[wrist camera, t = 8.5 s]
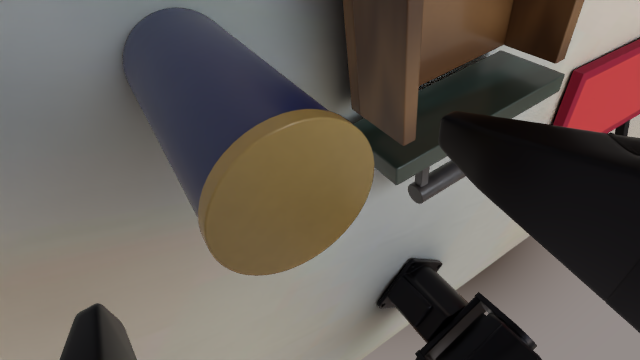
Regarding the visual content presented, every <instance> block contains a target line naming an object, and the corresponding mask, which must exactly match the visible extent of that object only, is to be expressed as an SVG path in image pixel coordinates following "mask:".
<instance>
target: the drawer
mask: <svg viewBox="0 0 640 360" xmlns="http://www.w3.org/2000/svg"><path fill="white" fill-rule="evenodd" d="M583 2H584V0H343V9H344V21H345V33H346V45H347V56H348V68H349V80H350V92H351V104H352V109H353V110H354V111H355V112H357V113H358V114H359V115H361V116H362V117H364V118H363V119H361V120H359V121H357V122H355V123H353V125H355V126H356V127H357V128H358V129H359V130H360V131H361V132H362V133H363V134H364V135H365V137H366V138H367V140H368V142H369V144H370V146H371V148H372V152H373V156H374V167H375V168H376V169H377V170H378V171H379V172H381V173H382V174H383V175H384V176H385V177H387V178H388V179H389V180H390V181H391V182H393V183H394V184H395V185H398V184H400V183H402V182H403V181H405V180H407V179H409V178H410V177H412V176H414V175H415V182H413V183H412V184H410V185H409V186H408V192H409V195H410V197H411V198H412V199H413V200H414V201H415V202H416V203H418V204H421V203H423V202H424V201H426V200H428V199H429V198H431V197H433V196H434V195H436V194H437V193H439V192H441V191H442V190H444V189H446V188H447V187H449V186H450V185H452V184H454V183H455V182H457V181H459V180H460V179H462V178H463V177H465V176H466V175H465V174H464V173H463V172H462V171H461V170H460V169H459V168H458V167H457V166H456V164H455V163H454V162H453V161H452V160H451V161H449V162H447V163H446V164H444V165H442V166H441V167H439V168H437V169H435V170H434V171H432V172H430V173H429V167H430V166H431V165H433V164H434V163H436V162H438V161H440V160H441V159H443V158H445V157H446V156H447V155H446V154H445V152H444V151H443V150H442V149H441V148H440V146H439V142H438V138H439V129H440V121H441V119H442V117H443V116H445V115H447V114H449V113H451V112H453V111H462V112H468V113H475V114H481V115H488V116H495V117H501V118H508V119H512V118H513V117H515V116H517V115H519V114H520V113H522V112H524V111H525V110H527V109H529V108H531V107H532V106H534V105H536V104H538V103H539V102H541V101H543V100H544V99H546V98H548V97H550V96H551V95H553V94H555V93H556V92H558V91H559V90H560V87H561V84H562V81H563V78H564V75H565V74H563V73H560V72H557V71H555V70H552V69H549V68H547V67H544V66H541V65H539V64H536V63H533V62H531V61H528V60H525V59H523V58H520V57H517V56H515V55H512V54H509V53H507V52H504V51H499V52H497V53H495V54H493V55H491V56H489V57H487V58H485V59H483V60H481V61H479V62H477V63H475V64H473V65H470V66H468V67H466V68H464V69H462V70H460V71H458V72H456V73H454V74H452V75H450V76H448V77H446V78H444V79H442V80H440V81H438V82H436V83H434V84H432V85H430V86H428V87H426V88H424V89H422V90H420V91H418V89H419V86H420V85H422V84H424V83H426V82H428V81H430V80H432V79H434V78H437V77H439V76H441V75H443V74H445V73H447V72H449V71H451V70H453V69H455V68H457V67H459V66H461V65H463V64H465V63H467V62H469V61H471V60H473V59H475V58H477V57H479V56H481V55H483V54H486V53H488V52H490V51H492V50H494V49H496V48H498V47H500V46H502V45H506V46H508V47H511V48H514V49H517V50H519V51H522V52H525V53H528V54H530V55H533V56H536V57H539V58H542V59H544V60H547V61H550V62H553V63H558V62H559V61H561V60H563V59H564V58H565V55H566V52H567V49H568V46H569V44H570V41H571V38H572V35H573V32H574V29H575V26H576V23H577V20H578V17H579V14H580V11H581V8H582V5H583Z"/></svg>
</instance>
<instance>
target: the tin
mask: <svg viewBox="0 0 640 360" xmlns="http://www.w3.org/2000/svg"><path fill="white" fill-rule="evenodd" d="M123 68H124V73H125V76H126V79H127V81H128V83H129V85H130V87H131V89H132V91H133V93H134V95H135V97H136V99H137V101H138V103H139V105H140V107H141V109H142V110H143V112H144V114H145V116H146V118H147V120H148V122H149V124H150V126H151V128H152V130H153V132H154V134H155V136H156V138H157V140H158V142H159V143H160V145H161V147H162V149H163V151H164V153H165V155H166V157H167V159H168V161H169V163H170V165H171V167H172V169H173V171H174V173H175V174H176V176H177V178H178V180H179V182H180V184H181V186H182V188H183V190H184V192H185V194H186V196H187V198H188V200H189V202H190V204H191V206H192V207H193V209H194V211H195V213H196V215H197V217H198V223H199V227H200V232H201V234H202V236H203V239H204V241H205V243H206V245H207V247H208V249H209V251H210V252H211V254H212V255H213V257H214V258H215V259H216V260H217V261H218V262H219V263H220V264H221V265H223V266H224V267H226V268H228V269H229V270H232V271H234V272H237V273H240V274H245V275H255V276H258V275H269V274H275V273H279V272H283V271H286V270H289V269H292V268H294V267H297V266H299V265H301V264H303V263H305V262H307V261H309V260H310V259H312V258H314V257H315V256H317V255H318V254H320V253H321V252H323V251H324V250H325V249H327V248H328V247H329V246H330V245H332V244H333V243H334V242H335V241H336V240H337V239H338V238H339V237H340V236H341V235H342V234H343V233H344V232H345V231H346V230H347V229H348V227H349V226H350V225H351V224H352V223H353V221H354V220H355V218H356V217H357V216H358V214H359V212H360V211H361V209H362V207H363V205H364V203H365V201H366V199H367V197H368V194H369V192H370V189H371V185H372V182H373V176H374V156H373V152H372V148H371V146H370V144H369V142H368V140H367V138H366V137H365V135H364V134H363V133H362V132H361V131H360V130H359V129H358V128H357V127H356V126H355V125H353V124H352V123H351V122H349V121H348V120H347V119H345V118H343V117H342V116H340V115H338V114H336V113H333V112H330V111H328V110H327V109H326V108H324V107H323V106H322V105H320V104H319V103H318V102H317V101H315V100H314V99H313V98H311V97H310V96H309V95H308V94H306V93H305V92H304V91H302V90H301V89H300V88H299V87H297V86H296V85H295V84H293V83H292V82H291V81H290V80H288V79H287V78H286V77H284V76H283V75H282V74H281V73H279V72H278V71H277V70H275V69H274V68H273V67H272V66H270V65H269V64H268V63H266V62H265V61H264V60H263V59H261V58H260V57H259V56H257V55H256V54H255V53H254V52H252V51H251V50H250V49H248V48H247V47H246V46H245V45H243V44H242V43H241V42H239V41H238V40H237V39H236V38H234V37H233V36H232V35H231V34H229V33H228V32H227V31H225V30H224V29H223V28H222V27H220V26H219V25H218V24H216V23H215V22H214V21H213V20H211V19H210V18H208V17H207V16H205V15H203V14H201V13H199V12H197V11H194V10H190V9H185V8H168V9H163V10H159V11H157V12H154V13H152V14H150V15H148V16H147V17H145V18H144V19H143V20H141V21H140V22H139V23H138V24H137V25H136V26H135V27H134V28H133V30H132V31H131V33H130V34H129V36H128V38H127V40H126V43H125V47H124V52H123Z"/></svg>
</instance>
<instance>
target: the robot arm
mask: <svg viewBox="0 0 640 360" xmlns="http://www.w3.org/2000/svg"><path fill="white" fill-rule="evenodd" d="M438 142H439V146H440V148H441V149H442V150H443V151H444V152H445V154H446V155H447V156H448V157H449V158H450V159H451V160H452V161H453V162H454V163H455V164H456V166H457V167H458V168H459V169H460V170H461V171H462V172H463V173H464V174H465V175H466V176H467V178H468V179H469V180H470V181H471V182H472V183H473V184H474V185H475V186H476V187H477V188H478V189H479V190H480V191H481V192H482V193H483V194H485V195H486V196H487V197H488V198H489V199H490V200H491V201H492V202H494V203H495V204H496V205H497V206H498V207H499V208H500V209H501V210H503V211H504V212H505V213H506V214H507V215H508V216H509V217H510V218H512V219H513V220H514V221H515V222H516V223H517V224H518V225H519V226H521V227H522V228H523V229H524V230H525V231H526V232H527V233H528V234H530V235H531V236H532V237H533V238H534V239H535V240H536V241H538V242H539V243H540V244H541V245H542V246H543V247H544V248H545V249H547V250H548V251H549V252H550V253H551V254H552V255H553V256H554V257H556V258H557V259H558V260H559V261H560V262H561V263H563V265H564V266H566V267H567V268H568V269H569V270H570V271H571V272H572V273H573V274H575V275H576V276H577V277H578V278H579V279H580V280H581V281H582V282H584V283H585V284H586V285H587V286H588V287H589V288H590V289H591V290H593V291H594V292H595V293H596V294H597V295H598V296H599V297H601V298H602V299H603V300H604V301H605V302H606V303H607V304H608V305H609V306H610V307H611V308H613V309H614V310H615V311H616V312H617V313H618V314H619V315H620V316H621V317H623V318H624V319H625V320H626V321H627V322H628V323H629V324H631V325H632V326H633V327H634V328H635V329H636V330H637V331H638V332H639V333H640V138H635V137H628V136H621V135H615V134H606V133H601V132H594V131H588V130H581V129H574V128H568V127H561V126H554V125H548V124H541V123H534V122H528V121H521V120H515V119H508V118H501V117H495V116H488V115H481V114H475V113H468V112H462V111H453V112H451V113H449V114H447V115H445V116H443V117H442V119H441V121H440V129H439V138H438ZM441 265H442V263H441V262H440V261H438V260H425V259H411V260H410V261H409V262H408V263H407V264H406V266H405V267H404V268H403V270H402V271H401V272H400V274H399V275H398V276H397V278H396V279H395V280H394V282H393V283H392V284H391V286H390V287H389V288H388V290H387V291H386V292H385V294H384V295H383V296H382V298H381V299H380V300H379V302H378V303H377V305H378V307H379V308H391V307H396V308H397V309H398V310H399V311H400V313H401V314H402V315H403V316H404V317H405V318H406V319H407V321H408V322H409V323H410V324H411V325H412V326H413V327H414V329H415V330H416V331H417V332H418V333H419V335H420V336H421V337H422V338H423V339H424V340H425V341H426V343H427V344H426V345H425V346H424V347H423V348H422V349H421V350H418V351H417V352H416V353H415V354H416V356H417V358H416V360H542V359H541V358H540V357H539V355H538V354H536V353H535V352H534V351H533V350H534V349H535V348H536V347H537V345H536V344H535V342H534V341H532V339H531V338H530V337H529V336H528V335H527V334H526V333H525V332H524V331H522V329H521V328H519V327H518V326H517V325H516V324H515V323H514V322H513V321H512V320H511V319H509V318H508V317H507V316H506V315H505V314H504V313H502V312H501V311H500V310H499V309H498V308H497V307H495V306H494V305H493V304H492V303H491V302H490V301H489V300H487V299H486V298H485V297H484V296H483V295H482V294H480V293H479V292H478V293H477V294H476V295H475V298H473V299H472V300H471V301H470V302H469V303H468V302H467V301H466V300H465V299H464V298H463V297H462V296H461V295H460V294H459V293H458V292H457V291H456V290H454V289H453V288H452V287H451V286H450V285H449V284H448V283H447V282H446V281H445V280H444V279H443V278H442V277H441V276H440V275H439V274H438V273H437V271H438V269H439V268H440V267H441ZM486 311H487V312H488V313H489V314H488V315H487V316H486V315H485V314H484V313H485V312H486ZM60 360H137V359H136V356H135V354H134V351H133V348H132V346H131V343H130V340H129V338H128V335H127V333H126V330H125V328H124V326H123V324H122V323H121V322H120V320H119V319H118V318H116V317H115V316H114V315H113V314H112V313H111V312H110V311H109V310H108V309H106V308H105V307H104V306H103V305H102V304H99V303H97V304H94V305H92V306H90V307H88V308H87V309H85V310H83V311H81V312H79V313H78V314H77V315H76V317H75V319H74V321H73V324H72V327H71V329H70V332H69V335H68V338H67V341H66V343H65V346H64V349H63V352H62V354H61V357H60Z"/></svg>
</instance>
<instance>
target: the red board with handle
mask: <svg viewBox="0 0 640 360" xmlns="http://www.w3.org/2000/svg"><path fill="white" fill-rule="evenodd" d="M639 114H640V39H638V40H636V41H634V42H632V43H630V44H628V45H626V46H624V47H622V48H620V49H617V50H615V51H613V52H611V53H609V54H607V55H605V56H603V57H601V58H599V59H596V60H594V61H592V62H590V63H588V64H586V65H584V66H582V67H580V68H578V69H576V70H573V73H572V76H571V78H570V81H569V84H568V86H567V89H566V92H565V94H564V97H563V100H562V102H561V105H560V107H559V110H558V113H557V115H556V118H555V121H554V123H553V125H554V126H561V127H568V128H574V129H581V130H588V131H594V132H601V133H606V134H607V133H609V132H610V131H612V130H614V129H615V128H616V130H615V135H621V136H627V134H628V128H629V122H630V120H631V119H632V118H634V117H636V116H637V115H639ZM609 134H613V133H609Z"/></svg>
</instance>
